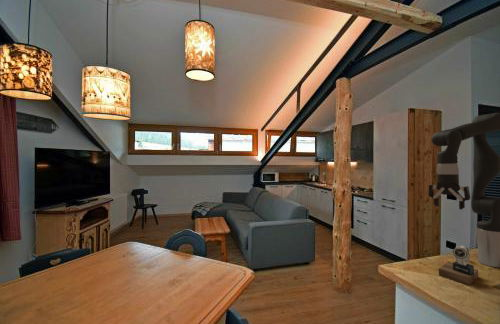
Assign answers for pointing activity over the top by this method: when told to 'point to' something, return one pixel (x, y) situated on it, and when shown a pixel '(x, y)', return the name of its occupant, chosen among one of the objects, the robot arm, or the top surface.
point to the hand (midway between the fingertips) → (448, 207)
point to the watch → (462, 260)
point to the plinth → (457, 274)
